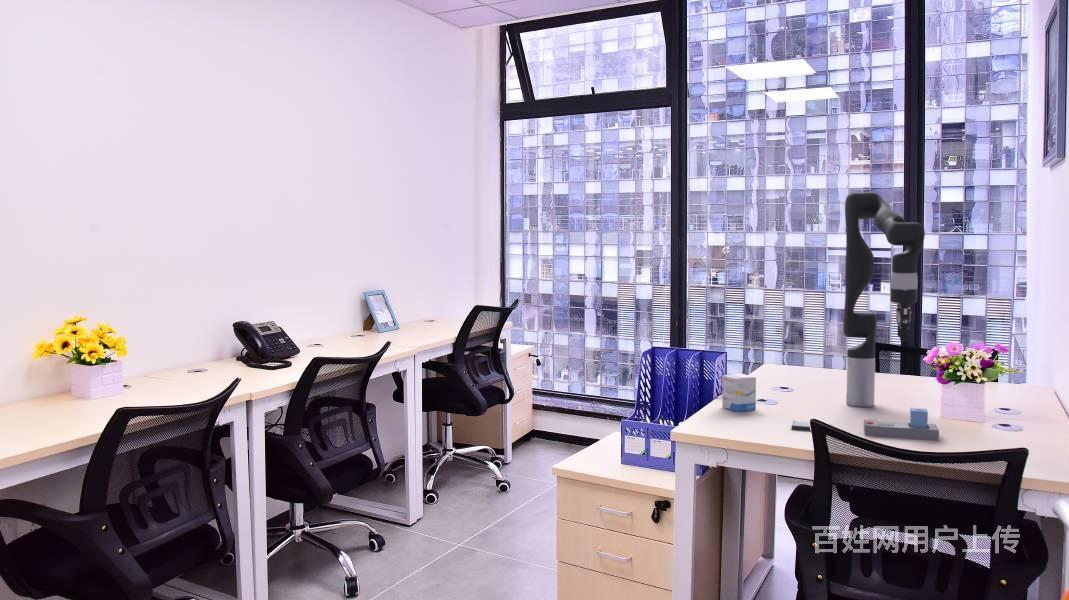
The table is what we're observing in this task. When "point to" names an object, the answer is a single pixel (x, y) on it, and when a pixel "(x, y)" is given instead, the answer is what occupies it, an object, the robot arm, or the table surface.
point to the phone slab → (802, 425)
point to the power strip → (900, 430)
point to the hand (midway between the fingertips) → (902, 338)
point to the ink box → (739, 392)
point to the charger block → (918, 418)
